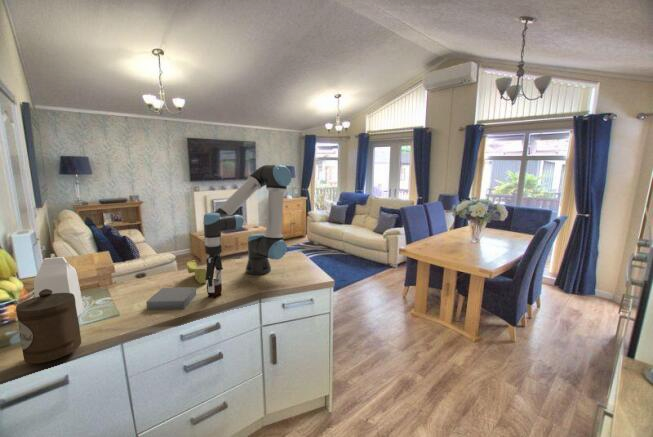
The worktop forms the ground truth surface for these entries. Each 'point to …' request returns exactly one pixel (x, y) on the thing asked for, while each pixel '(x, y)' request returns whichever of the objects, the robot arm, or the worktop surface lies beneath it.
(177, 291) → the stand
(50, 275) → the milk
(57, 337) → the wooden container
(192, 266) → the plastic component
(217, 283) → the mate gourd
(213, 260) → the robot arm
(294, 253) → the worktop surface
